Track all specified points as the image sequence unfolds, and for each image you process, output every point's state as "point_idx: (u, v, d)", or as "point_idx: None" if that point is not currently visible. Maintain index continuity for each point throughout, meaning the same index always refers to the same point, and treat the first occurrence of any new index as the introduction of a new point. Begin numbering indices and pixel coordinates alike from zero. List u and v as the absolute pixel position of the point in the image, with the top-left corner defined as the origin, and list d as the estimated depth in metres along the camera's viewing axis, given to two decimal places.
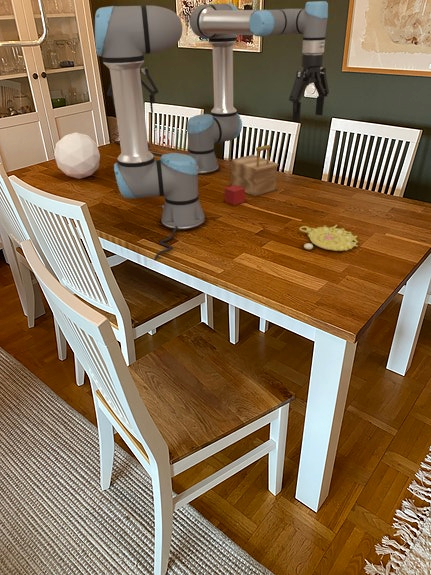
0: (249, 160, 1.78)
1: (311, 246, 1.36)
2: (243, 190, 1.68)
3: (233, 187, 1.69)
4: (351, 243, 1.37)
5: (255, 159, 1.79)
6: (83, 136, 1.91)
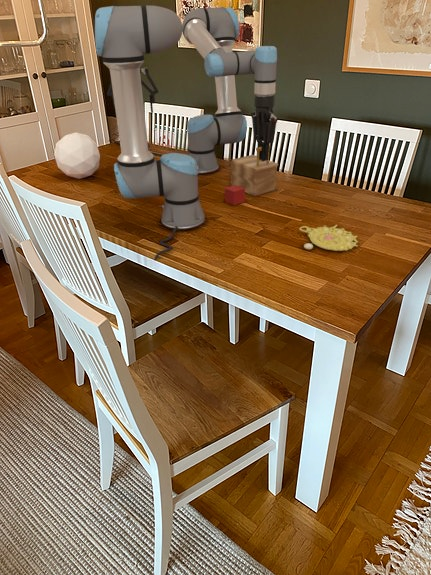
0: (249, 160, 1.78)
1: (311, 246, 1.36)
2: (243, 190, 1.68)
3: (233, 187, 1.69)
4: (351, 243, 1.37)
5: (255, 159, 1.79)
6: (83, 136, 1.91)
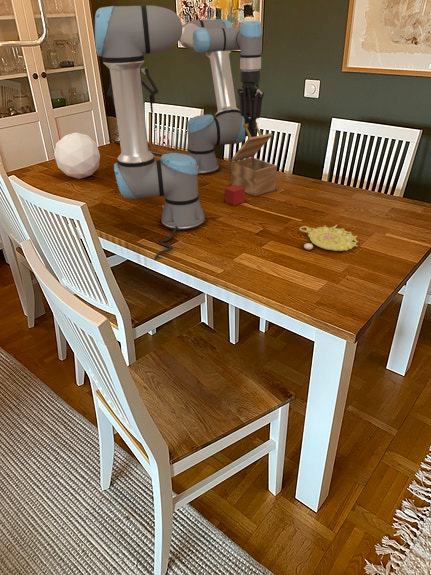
0: None
1: (311, 246, 1.36)
2: (243, 190, 1.68)
3: (233, 187, 1.69)
4: (351, 243, 1.37)
5: None
6: (83, 136, 1.91)
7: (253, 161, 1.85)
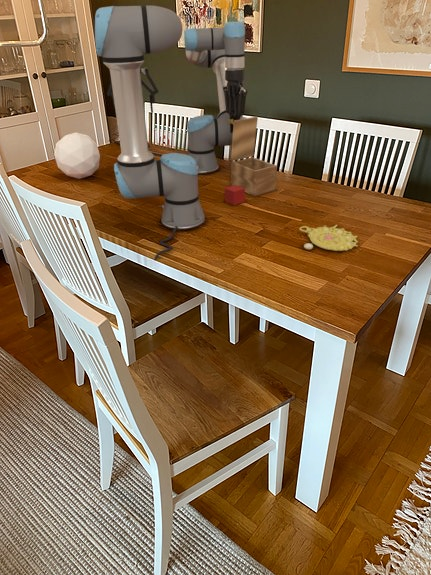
0: None
1: (311, 246, 1.36)
2: (243, 190, 1.68)
3: (233, 187, 1.69)
4: (351, 243, 1.37)
5: None
6: (83, 136, 1.91)
7: (253, 161, 1.85)
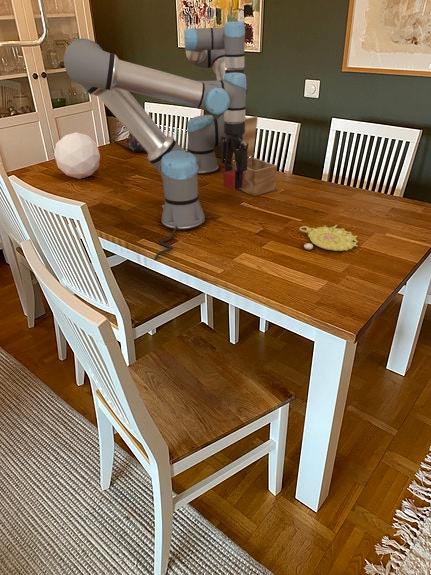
0: None
1: (311, 246, 1.36)
2: None
3: (232, 171, 1.65)
4: (351, 243, 1.37)
5: None
6: (83, 136, 1.91)
7: (253, 161, 1.85)
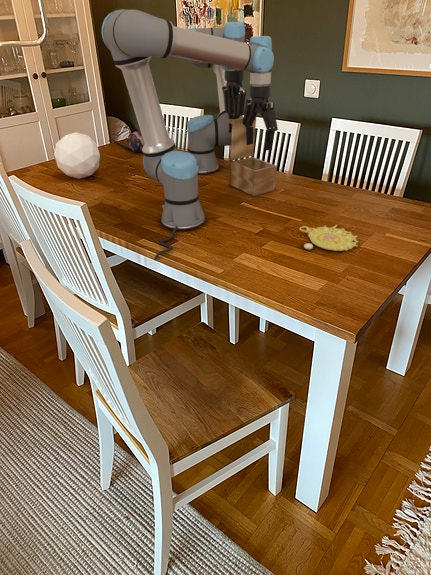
0: None
1: (311, 246, 1.36)
2: None
3: None
4: (351, 243, 1.37)
5: None
6: (83, 136, 1.91)
7: (253, 161, 1.85)
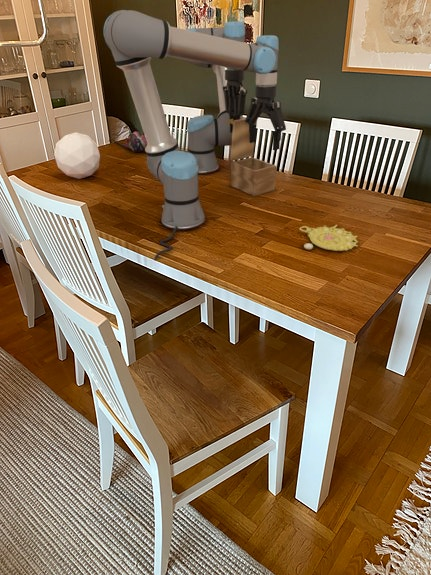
0: None
1: (311, 246, 1.36)
2: None
3: None
4: (351, 243, 1.37)
5: None
6: (83, 136, 1.91)
7: (253, 161, 1.85)
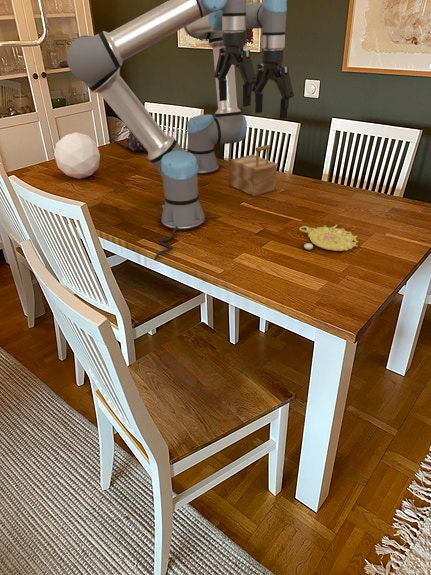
0: (249, 160, 1.79)
1: (311, 246, 1.36)
2: None
3: None
4: (351, 243, 1.37)
5: (255, 159, 1.79)
6: (83, 136, 1.91)
7: None
